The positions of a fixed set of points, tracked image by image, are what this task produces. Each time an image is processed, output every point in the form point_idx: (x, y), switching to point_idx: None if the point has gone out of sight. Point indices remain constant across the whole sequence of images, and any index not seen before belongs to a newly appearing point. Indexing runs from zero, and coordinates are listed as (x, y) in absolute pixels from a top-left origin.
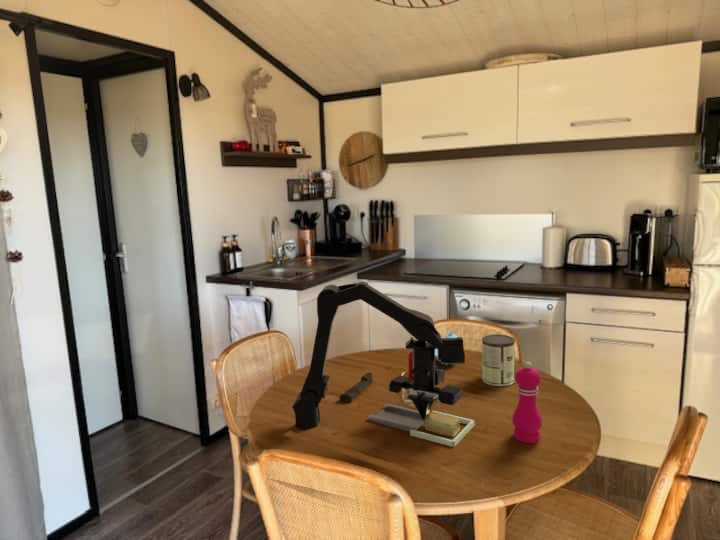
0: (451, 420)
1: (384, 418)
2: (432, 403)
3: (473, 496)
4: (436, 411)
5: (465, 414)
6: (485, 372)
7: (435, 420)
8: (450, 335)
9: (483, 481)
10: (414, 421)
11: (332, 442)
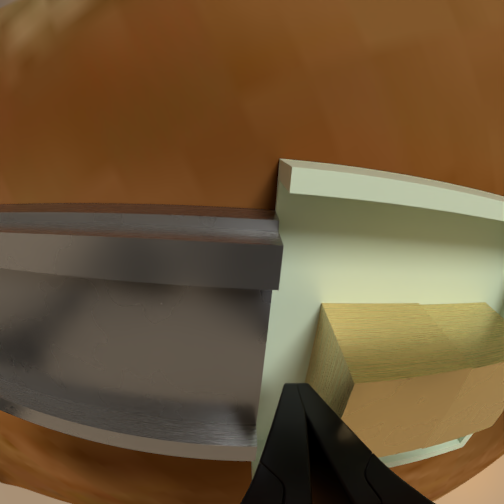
0: (495, 396)
1: (46, 420)
2: (405, 493)
3: (458, 484)
4: (336, 174)
5: (459, 11)
6: None
7: (401, 450)
8: None
9: (488, 452)
10: (186, 346)
11: (48, 476)
